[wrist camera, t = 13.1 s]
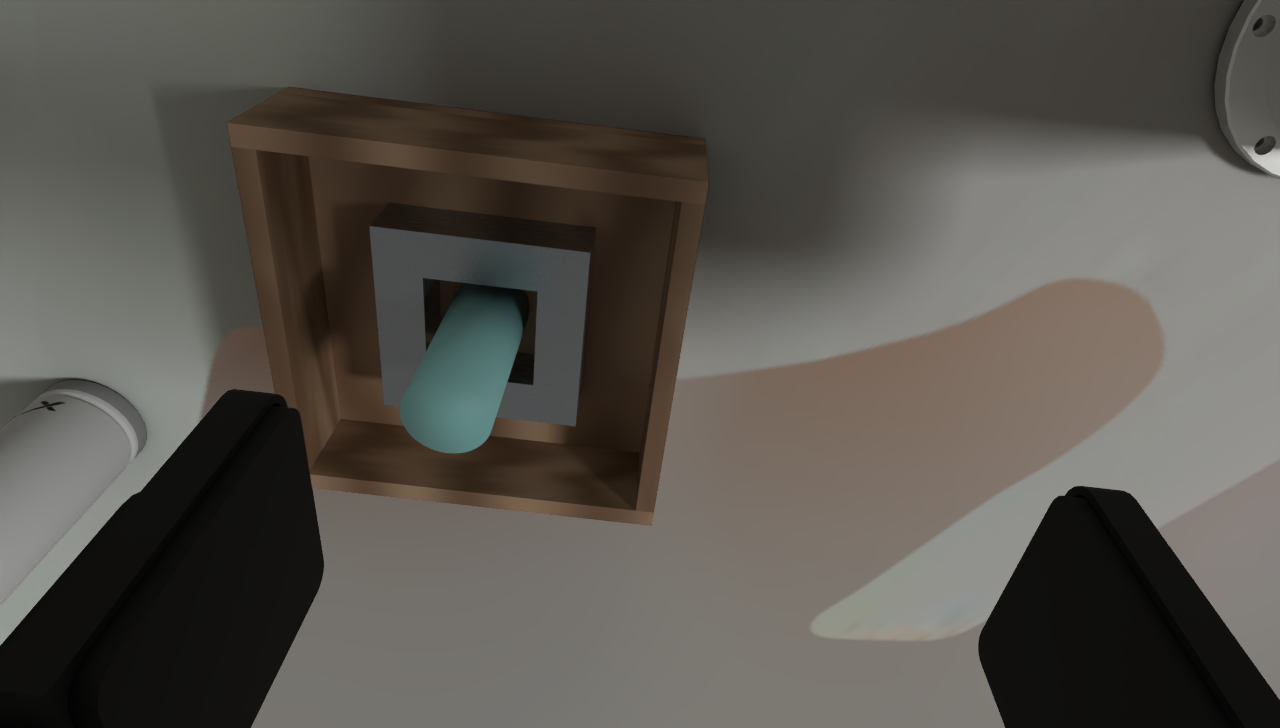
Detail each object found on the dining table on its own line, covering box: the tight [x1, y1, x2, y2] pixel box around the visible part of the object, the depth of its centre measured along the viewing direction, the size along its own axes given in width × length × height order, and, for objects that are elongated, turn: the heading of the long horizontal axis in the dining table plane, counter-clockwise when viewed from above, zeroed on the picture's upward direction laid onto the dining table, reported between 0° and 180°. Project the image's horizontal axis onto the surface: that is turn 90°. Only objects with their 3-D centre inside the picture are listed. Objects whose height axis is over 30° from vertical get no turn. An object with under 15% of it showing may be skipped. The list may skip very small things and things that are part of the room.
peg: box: [400, 283, 530, 453], centre depth 38 cm, size 4×4×10 cm
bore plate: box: [369, 202, 596, 426], centre depth 41 cm, size 10×10×3 cm
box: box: [227, 87, 709, 526], centre depth 40 cm, size 20×20×6 cm
